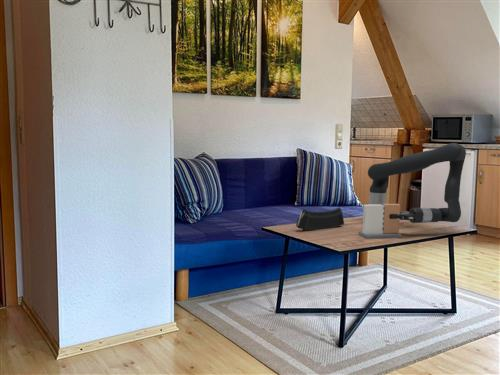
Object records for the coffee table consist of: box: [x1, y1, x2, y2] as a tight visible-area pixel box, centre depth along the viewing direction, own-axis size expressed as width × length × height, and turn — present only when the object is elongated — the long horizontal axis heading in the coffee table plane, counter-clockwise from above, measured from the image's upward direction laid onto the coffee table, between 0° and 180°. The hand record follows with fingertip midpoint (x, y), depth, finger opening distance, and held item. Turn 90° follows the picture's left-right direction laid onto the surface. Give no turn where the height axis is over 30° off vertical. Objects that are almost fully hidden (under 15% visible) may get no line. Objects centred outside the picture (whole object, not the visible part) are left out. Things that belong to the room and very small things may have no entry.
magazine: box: [296, 207, 345, 232], centre depth 263 cm, size 17×3×30 cm
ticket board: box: [357, 204, 402, 240], centre depth 247 cm, size 10×18×16 cm, turn 101°
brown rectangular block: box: [383, 203, 401, 234], centre depth 247 cm, size 3×8×14 cm, turn 101°
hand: (388, 215), depth 247 cm, fingers closed on brown rectangular block, 3 cm apart
